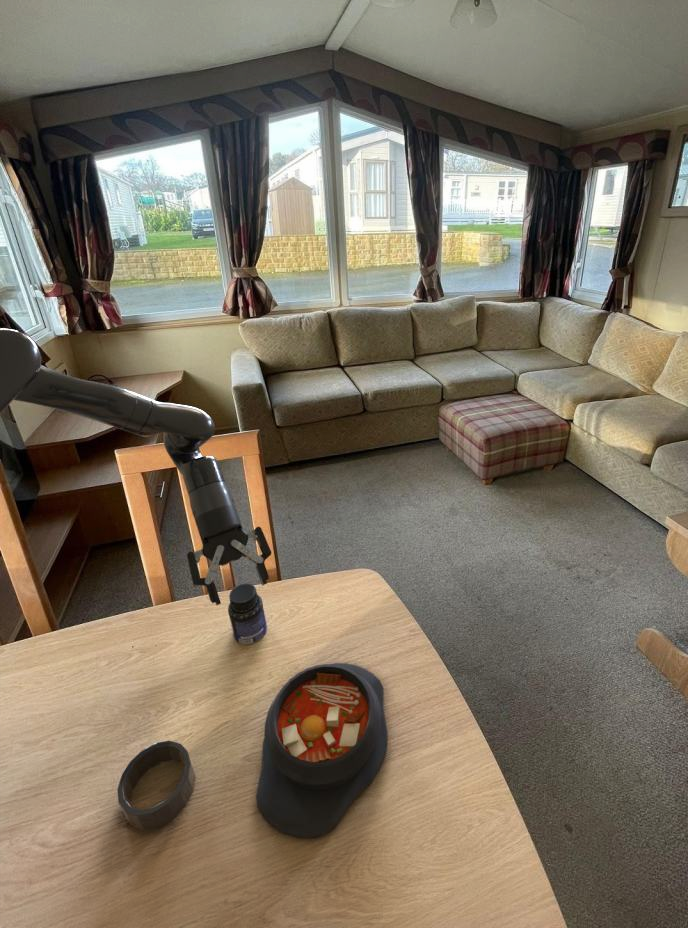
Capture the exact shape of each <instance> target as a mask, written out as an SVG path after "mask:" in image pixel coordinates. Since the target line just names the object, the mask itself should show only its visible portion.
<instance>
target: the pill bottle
mask: <svg viewBox="0 0 688 928" xmlns="http://www.w3.org/2000/svg"><path fill="white" fill-rule="evenodd" d="M228 597H229V603H228V606H227V613H228V618H229V622H230V626H231V631H232V634H233V638H234V640H235V642H237V643H238V644H240V645H243V646H244V645H245V646H248V645H253V644H255V643H258V642H259V641H261V639H263V638H264V637H265V636H266V634H267V631H268V624H267V619H266V618H267V617H266V613H265V608H264V602H263V599H262V597H261V596H260V595H259V593H258V592H257V588H256V586H255V585H254V584H252V583H247V582H246V583H241V584H238V585H236V586H235V587H233V588H232V589H231V590H230V592H229V595H228Z"/></svg>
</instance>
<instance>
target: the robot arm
mask: <svg viewBox="0 0 688 928" xmlns="http://www.w3.org/2000/svg"><path fill="white" fill-rule="evenodd" d="M13 401H16V402H22V403H28V404H33V405H38V406H40V407H46V408H49V409H55V410H57V411H63V412H65V413H69V414H72V415H76V416H79V417H82V418H85V419H88V420H91V421H94V422H98V423H101V424H105V425H107V426H110V427H113V428H116V429H119V430H121V431H125V432H128V433H132V434H134V435H137V436H140V437H144V438H145V437H146V438H149V437H152V436H156V435H158V434H163V440H162V441H163V445H164V449H165V451H166V453H167V455H168V456H169V458H170V460H171V461H172V462H173V464H174V466H175V467H176V469H177V470H178V472H179V473H180V474H181V476H182V479H183V482H184V486H185V489H186V492H187V495H188V499H189V505H190V510H191V513H192V517H193V518H194V521H195V522H194V523H195V526H196V528H197V532H198V534H199V538H200V541H201V545H202V547H201V549H199V550H196V551H189V552H187V555H186V560H187V563H188V568H189V572H190V577H191V581H192V585H193V586H194V587H202V586H203V587H205V588H206V592H207V595H208V598H209V601H210V603H212V604H215V606H219V605H221V604H222V602H221V599H220V596H219V593H218V590H217V586H216V583H214V581H213V580H214V577H215V575H216V571H217V569H218V566H222V567H224V566H226V565H228V564H229V563H231V562H236V561H238V560H239V561H240V559H242V557H243V558H244V559H246V560H248V561H251V562H252V563H253V564H255V569H256V571H257V575H258V578H259V581H260V583H261V586H264V585H268V580H270V576H269V573H268V570H267V568H266V564H265V562H266V560H267V559H268V558H269V557H271V556H272V550H271V548H270V545H269V543H268V541H267V538H266V536H265V533H264V531H263V529H262V527H261V526H256V527H255V528H254V529H252V530H250V531H245V530H244V528H243V525H242V522H241V519H240V517H239V514H238V511H237V508H236V504H235V500H234V498H233V495H232V492H231V491H230V489H229V487H228V485H227V483H226V479H225V476H224V474H223V470H222V468H221V465H220V463H219V461H218V459H217V458H216V457H214V456H212V455H203V454H202V453H201V450H200V447H202V446H203V445H204V444H206V443H207V442H208V441H210V440H211V439H212V438H213V436H214V434H215V431H216V425H215V422H214V420H213V419H212V417H211V416H210V415H209V414H208V413H207V412H205V411H204V410H202V409H199V408H197V407H194V406H190V405H184V404H177V403H172V402H162V401H157V400H155V399H153V398H150V397H148V396H144V395H142V394H139V393H138V392H135V391H132V390H128V389H126V388H122V387H119V386H116V385H111V384H106V383H101V382H96V381H92V380H91V381H90V380H86V379H82V378H78V377H74V376H70V375H67V374H65V373H61V372H58V371H55V370H54V369H51V368H48V367H47V366H44V365H42V357H41V353H40V350H39V347H38V345H37V343H35V341H34V340H33V339H32V338H31V337H29V335H27V334H26V333H23V332H22V331H19V330H15V329H9V328H0V415H1V414H2V413H3V412H4V411H5V410H6V409H7V408H8V406H10V405H11V404H12V402H13ZM249 539H252V541H254V542H257V545H258V547H259V549H260V552H261V554H260V555H259V554H258V553H256V552H255V551H254V550H253V549H250V548H249V547H248V546H247V544H248V541H249ZM202 556H204V557H205V558H206V559H208V560H209V561H211V563H210V566H209V568H208V570H207V573H206V576H205V577H201V575H200V572H199V568H198V564H199V563H200V561H201V558H202Z"/></svg>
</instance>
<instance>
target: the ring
mask: <svg viewBox="0 0 688 928" xmlns="http://www.w3.org/2000/svg"><path fill="white" fill-rule="evenodd" d="M170 761H171V762H172V761H174V762H177V763H181V764H182V765H183V766H184V769H183V774H182V777H181V780H180V781H179V783H178V785H177V787H176V789H174V791H173V792H172V793H171V794H170V795H169V796H168V797H167V798H166V799H164V800H163V801H162V802H160V803H158V804H156V805H155V806H152V807H147V808H141V809H140V808H137V807H133V806H131V801H132V796H133V792H134V790H135V788H136V786H137V785H138V783H139V781H140V780H141V779H142V777H143V776H145V774H146V773H147V772H148V771H150V769H152V768H154V767H155V766H156V767H157V765H160V764H161V763H166V762H170ZM195 783H196V773H195V768H194V765H193V762H192V759H191V755H190V752H189V750H188V749H186V747H185V746H183V744H182V743H180V742H176V741H173V740H166V741H165V740H164V741H159V742H155V743H153V744H151V745H149V746H147V747H145V748H143V749H142V750H141V751H139V753H138V754H136V755H135V756H134V757H133V758H132V759H131V760H130V761H129V763H128V765H126V767H125V769H124V770H123V772H122V773H121V776H120V779H119V782H118V786H117V797H118V798H117V800H118V805H119V806H120V808H121V810H122V813H123V815H124V817H125V819H126V820H127V822H128V823H129V824H130V826H131V827H132V828H135V829H138V830H140V831H150V830H156V829H159V828H161V827H163V826H165V825H166V824H168V823H171V821H173V820H174V819H176V818H177V816H178V815H179V814H180V813H181V812H182V811H183V810H184V809H185V808H186V806H187V804H188V802H189V800H190V799H191V797H192V795H193V793H194V789H195Z"/></svg>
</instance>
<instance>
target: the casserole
mask: <svg viewBox="0 0 688 928" xmlns="http://www.w3.org/2000/svg"><path fill="white" fill-rule="evenodd" d="M384 690H385V689H384V686H383V684H382V682H381V680H380V678H378V677H377V676H376V675H375V674H374V673H373V672H371V671H369V669H366V668H364V667H363V666H362V667H361V666H359V665H356V664H351V663H347V662H335V663H323V664H316V665H314V666H310V667H308V668H305V669H303V670H302V671H300V672H298V673H296V674H295V675H294V676H292V677H291V678H290V679H289V680H287V681H286V683H285V684H284V685H283V686H282V687H281V688H280V690H279V691H278V693H277V694H276V696H275V697H274V699H273V700H272V701H271V704H270V706H269V709H268V710H267V713H266V718H265V722H264V733H263V735H264V736H263V741H262V754H261V756H262V757H261V771H260V776H259V780H258V784H257V789H256V795H255V798H256V804H257V809H258V810H259V812H260V814H261V815H262V817H263V819H264V820H266V822H267V823H268V824H269V825H271V826H272V828H274V829H276V830H278V831H279V832H281V833H283V834H284V835H288V836H292V837H296V838H302V839H303V838H305V839H314V838H317V837H322V836H323V837H324V836H325V835H326V834H328V833H329V832H331V831H333V830H334V829H335V828H336V826H337V825H338V824H339V822H340V821H341V820H342V818H343V817H344V815H345V814H346V812H347V811H348V809H349V808H350V807H351V805H352V803H353V802H354V801H355V800H357V798H359V796H361V794H362V793H363V792H364V791H365V790H366V789H367V788H368V787H370V785H371V784H372V783H373V782H374V779H376V777H377V775H378V774H379V772H380V770H381V768H382V765H383V763H384V761H385V758H386V753H387V749H388V740H389V739H388V736H389V735H388V734H389V733H388V732H389V731H388V725H387V720H386V715H385V710H384Z"/></svg>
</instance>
